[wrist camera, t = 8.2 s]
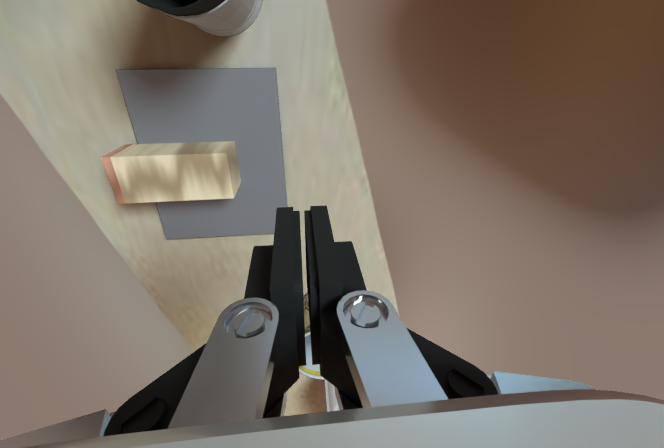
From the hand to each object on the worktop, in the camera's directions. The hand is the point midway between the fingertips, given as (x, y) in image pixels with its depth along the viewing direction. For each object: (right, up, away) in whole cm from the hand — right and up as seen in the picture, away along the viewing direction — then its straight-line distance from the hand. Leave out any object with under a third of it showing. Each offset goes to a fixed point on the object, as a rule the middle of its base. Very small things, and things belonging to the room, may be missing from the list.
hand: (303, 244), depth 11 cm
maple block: (-10, +7, +24) cm, 27 cm away
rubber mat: (-13, +8, +27) cm, 31 cm away
